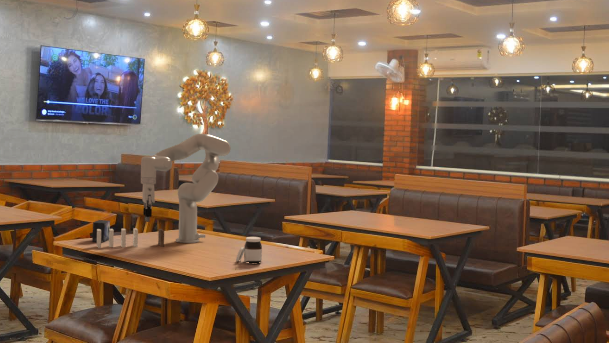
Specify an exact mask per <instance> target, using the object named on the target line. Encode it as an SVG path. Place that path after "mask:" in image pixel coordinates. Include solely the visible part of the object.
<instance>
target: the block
mask: <svg viewBox="0 0 609 343" xmlns="http://www.w3.org/2000/svg"><path fill="white" fill-rule="evenodd" d="M157 230H158V231H157V232H158V234H157V236H158V237H157V240H158V241H157V243H158V244H157V245H158V246H159V247H160V248H164V247H165V230H163V229H162V228H158V229H157Z"/></svg>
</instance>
